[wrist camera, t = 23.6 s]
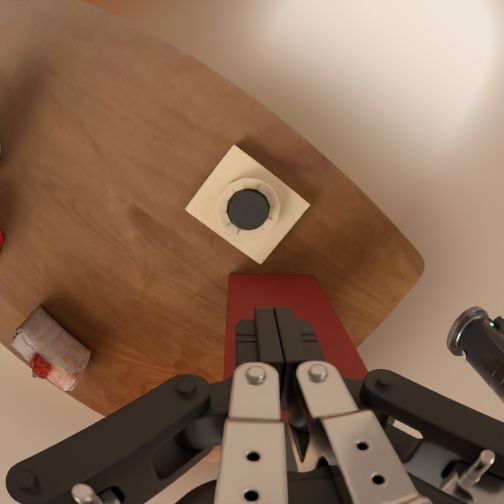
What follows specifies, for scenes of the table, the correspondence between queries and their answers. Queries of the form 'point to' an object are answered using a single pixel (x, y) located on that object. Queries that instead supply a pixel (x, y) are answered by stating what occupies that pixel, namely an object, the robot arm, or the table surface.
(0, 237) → the french fries container
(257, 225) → the button
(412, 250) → the table surface
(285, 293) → the coffee maker
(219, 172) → the brew pad
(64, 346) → the food item
